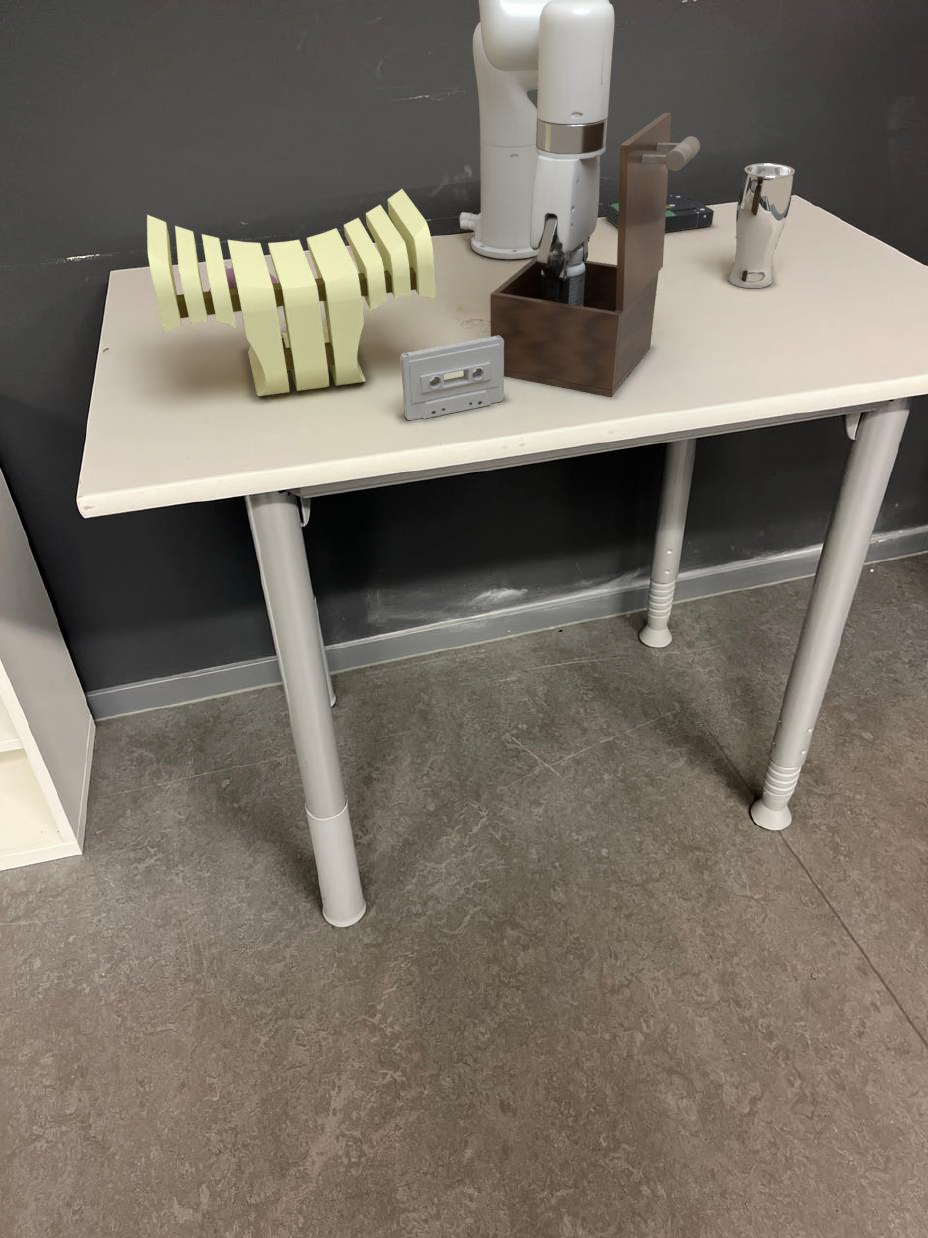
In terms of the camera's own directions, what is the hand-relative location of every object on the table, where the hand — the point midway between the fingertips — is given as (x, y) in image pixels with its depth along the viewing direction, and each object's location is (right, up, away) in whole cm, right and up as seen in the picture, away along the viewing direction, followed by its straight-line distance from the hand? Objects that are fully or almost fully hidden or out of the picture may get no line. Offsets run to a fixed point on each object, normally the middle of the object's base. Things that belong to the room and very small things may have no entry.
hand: (563, 300), depth 111 cm
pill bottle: (0, -2, +1) cm, 2 cm away
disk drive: (+21, +28, +44) cm, 56 cm away
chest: (+2, -6, +4) cm, 7 cm away
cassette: (-13, -14, -5) cm, 20 cm away
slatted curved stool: (-31, -8, +4) cm, 33 cm away
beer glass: (+30, +11, +23) cm, 39 cm away
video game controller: (-43, +5, +19) cm, 47 cm away
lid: (+7, +6, -10) cm, 14 cm away
